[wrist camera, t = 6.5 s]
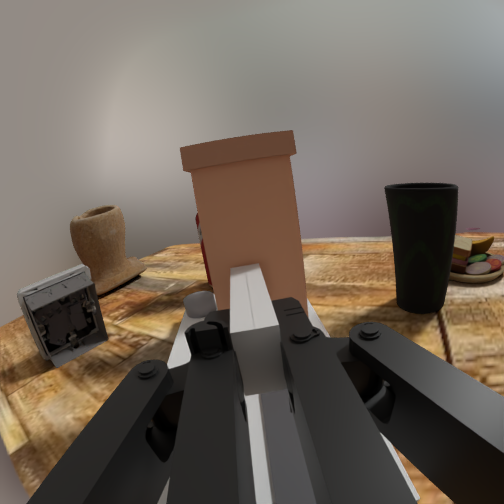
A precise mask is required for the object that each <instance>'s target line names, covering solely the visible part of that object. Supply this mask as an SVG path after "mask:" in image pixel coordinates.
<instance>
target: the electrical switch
mask: <svg viewBox="0 0 504 504" xmlns="http://www.w3.org/2000/svg"><path fill="white" fill-rule="evenodd" d="M17 298H18V301H19V304H20V307H21V309H22V311H23V314H24V317H25V319H26V322H27V324H28V327H29V329H30V332H31V334H32V336H33V339H34V341H35V343H36V345H37V347H38V350H39V352H40V354H41V356H42V357H43V359H45V360H49V359H50V360H51V361H52V362H53V364H54V365H55V366H56V368H58V367H60V366H62V365H63V364H65V363H67V362H69V361H71V360H73V359H74V358H76V357H78V356H80V355H82V354H84V353H85V352H87V351H89V350H91V349H93V348H94V347H96V346H98V345H100V344H102V343H104V342H105V341H107V340H108V336H107V332H106V329H105V325H104V321H103V317H102V314H101V310H100V305H99V301H98V297H97V292H96V288H95V284H94V283H93V282H92V281H91V274H90V269H89V268H88V267H87V266H85V265H83V264H81V265H78V266H76V267H73V268H70V269H68V270H66V271H63V272H60V273H58V274H55V275H53V276H50V277H48V278H46V279H43V280H41V281H38V282H36V283H34V284H31V285H29V286H27V287H24V288H22V289H19V291H18V293H17ZM96 336H97V337H96ZM82 342H83V343H84V345H85V346H84V345H83V344H82ZM96 343H97V344H96ZM78 344H79V347H78V349H76V348H73V347H74V346H76V345H78ZM89 346H90V347H89ZM70 349H71V350H72V351H73V352H72V351H71V350H70Z"/></svg>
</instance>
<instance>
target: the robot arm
mask: <svg viewBox="0 0 504 504" xmlns="http://www.w3.org/2000/svg"><path fill="white" fill-rule="evenodd" d="M184 334H185V337H186V340H187V343H188V347H189V350H190V353H191V358H190V361H189V362H187V363H186V364H183V365H180V366H177V367H174V368H170V369H169V368H168V366H167V364H166V363H165V362H164V361H160V360H147V361H144V362H142V363H140V364H138V365H136V366H135V367H134V368H133V369H131V371H130V372H129V373H128V374H127V375H126V377H125V378H124V379H123V380H122V382H121V383H120V384H119V385H118V387H117V388H116V389H115V390H114V391H113V393H112V394H111V395H110V396H109V398H108V399H107V400H106V401H105V403H104V404H103V405H102V406H101V408H100V409H99V410H98V411H97V413H96V414H95V415H94V416H93V418H92V419H91V420H90V421H89V423H88V424H87V425H86V427H85V428H84V429H83V430H82V432H81V433H80V434H79V435H78V437H77V438H76V439H75V441H74V442H73V443H72V444H71V446H70V447H69V448H68V450H67V451H66V452H65V453H64V455H63V456H62V457H61V459H60V460H59V461H58V463H57V464H56V465H55V466H54V468H53V469H52V470H51V472H50V473H49V474H48V476H47V477H46V478H45V480H44V481H43V482H42V484H41V485H40V486H39V488H38V489H37V490H36V492H35V493H34V494H33V496H32V497H31V498H30V500H29V501H28V503H27V504H157V503H158V501H159V499H160V497H161V495H162V492H163V490H164V488H165V486H166V484H167V482H168V479H169V477H170V479H169V486H168V494H167V501H166V504H256V495H255V486H254V476H253V466H252V456H251V446H250V436H249V425H248V414H247V405H246V401H245V397H244V393H245V396H249V395H255V394H262V393H268V392H273V391H279V390H284V389H287V388H288V395H289V404H290V412H291V413H292V412H293V416H294V420H295V424H296V428H297V431H298V435H299V439H300V443H301V447H302V451H303V454H304V458H305V462H306V466H307V470H308V473H309V477H310V481H311V485H312V489H313V492H314V496H315V500H316V504H417V502H416V500H415V498H414V496H413V494H412V492H411V490H410V488H409V486H408V484H407V482H406V480H405V478H404V477H403V475H402V473H401V471H400V469H399V467H398V465H397V463H396V461H395V460H394V458H393V456H392V454H391V452H390V450H389V448H388V446H387V445H386V443H385V441H384V439H383V437H382V435H383V436H384V437H385V438H386V439H387V440H388V441H389V442H391V443H392V444H393V445H394V446H395V447H396V448H397V449H398V450H399V451H400V452H401V453H402V454H403V455H404V456H405V457H406V458H407V459H408V460H409V461H410V462H411V463H412V464H413V465H414V466H415V467H416V468H417V469H418V470H420V471H421V472H422V473H423V474H424V475H425V476H426V477H427V478H428V479H429V480H430V481H431V482H432V483H433V484H434V485H436V486H437V487H438V488H439V489H440V490H441V491H442V492H443V493H444V494H445V495H447V496H448V497H449V498H450V499H451V500H452V501H453V502H454V503H455V504H504V397H503V396H501V395H500V394H498V393H496V392H495V391H493V390H492V389H490V388H488V387H487V386H485V385H483V384H482V383H480V382H478V381H477V380H475V379H474V378H472V377H470V376H469V375H467V374H465V373H464V372H462V371H460V370H459V369H457V368H455V367H454V366H452V365H451V364H449V363H447V362H446V361H444V360H442V359H441V358H439V357H437V356H436V355H434V354H432V353H431V352H429V351H427V350H426V349H424V348H422V347H421V346H419V345H417V344H416V343H414V342H413V341H411V340H409V339H408V338H406V337H404V336H403V335H401V334H399V333H398V332H396V331H394V330H393V329H391V328H389V327H388V326H386V325H384V324H381V323H377V322H364V323H361V324H358V325H356V326H354V327H353V328H352V329H351V330H350V332H349V337H344V338H331V337H326V336H325V335H324V333H323V332H322V331H321V330H320V329H319V328H316V327H314V326H313V325H312V324H311V322H310V320H309V318H308V316H307V314H306V313H305V311H304V309H303V308H302V305H301V304H300V302H299V301H298V300H296V299H295V298H293V297H288V298H283V299H278V300H272V301H271V299H270V296H269V293H268V290H267V287H266V284H265V281H264V278H263V275H262V272H261V269H260V266H259V263H257V264H251V265H245V266H240V267H234V268H230V309H224V310H217V311H211V312H209V314H208V315H207V316H206V317H205V318H204V321H200V322H197V323H195V324H193V325H191V326H190V327H188V328H187V329H186V331H185V332H184ZM380 433H381V434H382V435H381V434H380Z"/></svg>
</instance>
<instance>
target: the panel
mask: <svg viewBox="0 0 504 504" xmlns="http://www.w3.org/2000/svg"><path fill="white" fill-rule="evenodd" d="M183 302H184V305H185V309H186V310H185V313H184V316H183V319H182V321H181V324H180V327H179V330H178V333H177V336H176V339H175V342H174V345H173V348H172V351H171V354H170V357H169V360H168V363H167V366H168V368H169V369H170V368H174V367H177V366H180V365H183V364H186V363H187V362H189V361H190V358H191V353H190V350H189V347H188V343H187V340H186V337H185V334H184V332H185V331H186V329H187V328H188V327H190V326H191V325H193V324H195V323H197V322H200V321H204V318H205V317H206V316H207V315H208V314H209V312H211V311H217V310H218V308H217V304H216V299H215V295H214V294H213V293H212V292H210V291H200V292H195V293H192V294H190V295H188V296H186V297H185V298H184V299H183ZM307 305H308V317H309V320H310V322H311V324H312V325H313V326H314V327H316V328H319V329H320V330H321V331H322V332H323V333H324V335H325V336H326V337H330V336H329V334H328V332H327V331H326V329H325V327H324V326H323V324H322V322H321V321H320V319H319V317H318V316H317V314H316V312H315V311H314V309H313V307H312V306H311V304H310V302H309V301H308V299H307ZM244 397H245V401H246V405H247V414H248V425H249V436H250V446H251V456H252V466H253V476H254V486H255V495H256V504H316V500H315V496H314V492H313V489H312V485H311V481H310V477H309V473H308V470H307V466H306V462H305V458H304V454H303V451H302V447H301V443H300V439H299V435H298V431H297V428H296V424H295V420H294V416H293V412H292V413H291V412H290V404H289V395H288V388H287V389H284V390H279V391H273V392H268V393H262V394H255V395H249V396H245V393H244ZM380 434H381V433H380ZM381 435H382V434H381ZM382 437H383V439H384V441H385V443H386V445H387V446H388V448H389V450H390V452H391V454H392V456H393V458H394V460H395V461H396V463H397V465H398V467H399V469H400V471H401V473H402V475H403V477H404V478H405V480H406V482H407V484H408V486H409V488H410V490H411V492H412V494H413V496H414V498H415V500H416V502H418V500H419V499H420V497H419V495H418V493H417V491H416V489H415V487H414V485H413V484H412V482H411V480H410V478H409V476H408V474H407V472H406V470H405V468H404V467H403V465H402V463H401V461H400V459H399V457H398V455H397V453H396V452H395V450H394V448H393V446H392V444H391V442H389V441H388V440H387V439H386V438H385V437H384V436H383V435H382ZM169 479H170V477H169ZM169 479H168V482H167V484H166V486H165V488H164V490H163V492H162V495H161V497H160V499H159V501H158V503H157V504H166V501H167V494H168V486H169Z"/></svg>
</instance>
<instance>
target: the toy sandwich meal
mask: <svg viewBox="0 0 504 504" xmlns="http://www.w3.org/2000/svg"><path fill="white" fill-rule="evenodd" d="M493 241H494V236H492V237H490V238H487V239H483V240H478V241H472V239H469V238H466V237H462V236H458V235H455V242H454V250H453V257H452V264H451V270H450V276H449V279H451V280H455V281H459V282H466V283H483V282H488V281H491V280H494V279H496V278H497V277H498V276H499V275H501V274H502V273H503V272H504V256H502V255H494V254H492V253H489V252H487V251H488V249H489V248H490V247H491V245H492V243H493Z"/></svg>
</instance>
